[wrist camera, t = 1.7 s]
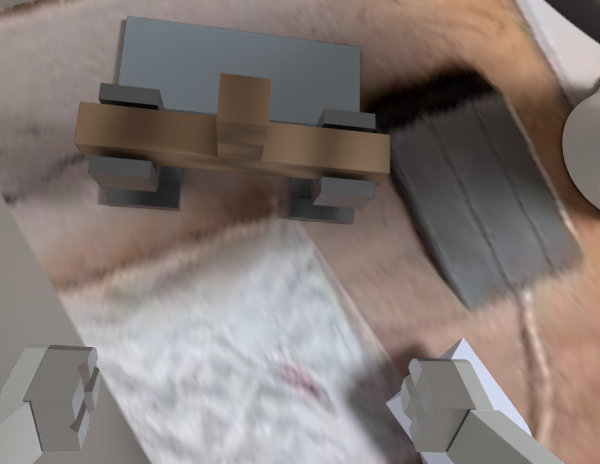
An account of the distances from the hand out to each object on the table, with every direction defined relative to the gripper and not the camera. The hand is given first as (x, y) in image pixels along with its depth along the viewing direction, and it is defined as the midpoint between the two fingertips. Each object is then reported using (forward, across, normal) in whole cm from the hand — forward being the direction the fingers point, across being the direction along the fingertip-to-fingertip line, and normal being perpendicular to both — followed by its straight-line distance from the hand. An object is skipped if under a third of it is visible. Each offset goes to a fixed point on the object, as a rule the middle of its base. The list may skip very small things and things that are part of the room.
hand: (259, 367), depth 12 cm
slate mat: (+39, +1, +3) cm, 39 cm away
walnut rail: (+25, +1, +6) cm, 26 cm away
